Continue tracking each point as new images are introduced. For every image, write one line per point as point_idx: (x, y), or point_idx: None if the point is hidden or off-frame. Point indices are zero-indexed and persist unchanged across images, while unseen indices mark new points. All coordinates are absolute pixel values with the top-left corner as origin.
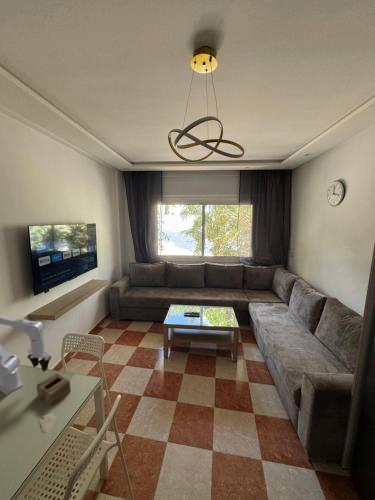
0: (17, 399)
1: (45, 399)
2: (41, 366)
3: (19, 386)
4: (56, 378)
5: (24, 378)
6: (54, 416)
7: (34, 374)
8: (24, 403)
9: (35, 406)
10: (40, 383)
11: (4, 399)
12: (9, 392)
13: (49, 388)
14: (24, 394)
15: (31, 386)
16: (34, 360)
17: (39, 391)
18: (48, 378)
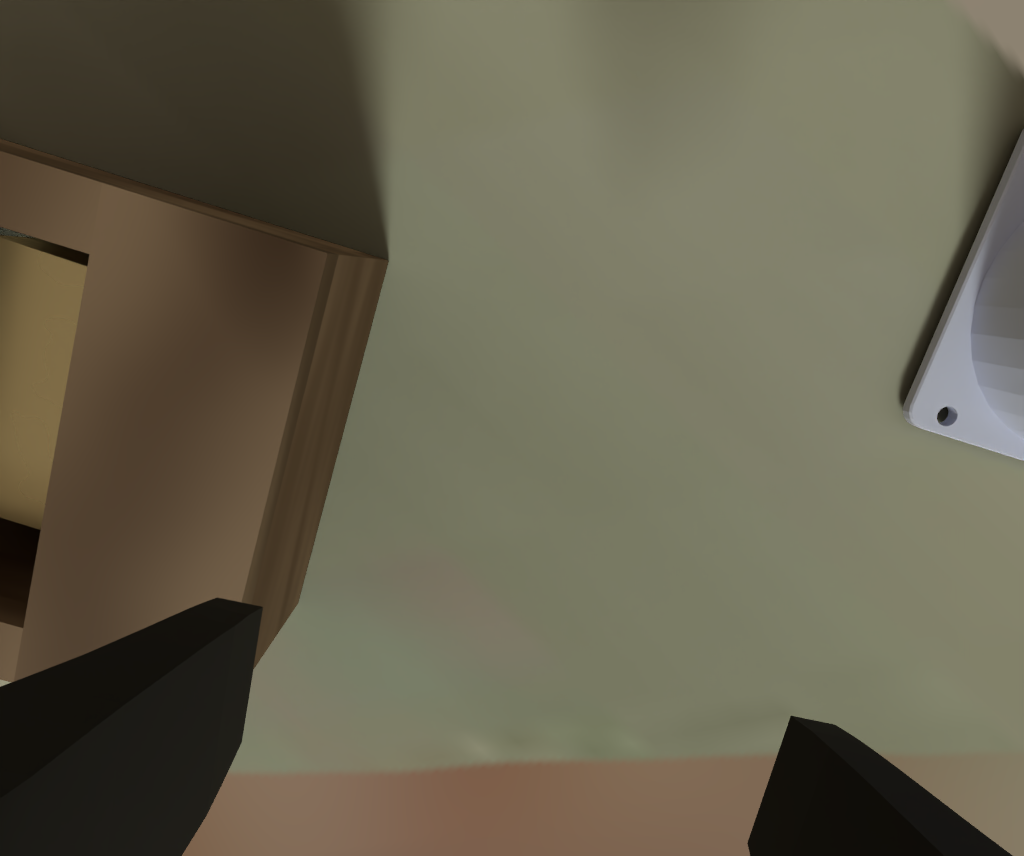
0: (702, 84)
1: (87, 168)
2: (49, 718)
3: (934, 352)
4: (32, 583)
5: (1018, 561)
6: None
7: (903, 684)
8: (475, 32)
9: (198, 23)
10: (277, 335)
11: (968, 19)
12: (1011, 172)
13: None
14: (671, 224)
15: (706, 423)
16: None
17: (255, 225)
18: (227, 535)
